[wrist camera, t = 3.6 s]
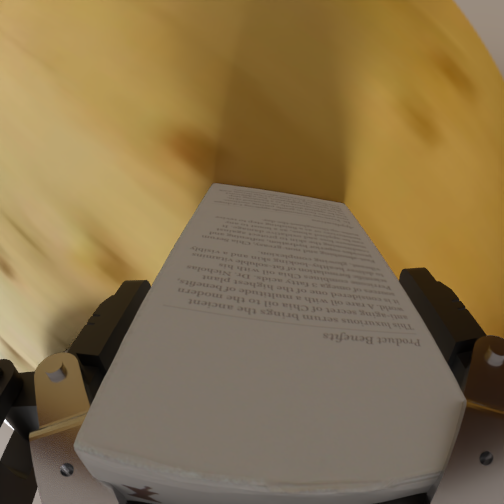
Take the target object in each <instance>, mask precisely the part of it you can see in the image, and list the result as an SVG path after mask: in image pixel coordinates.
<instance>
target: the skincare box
mask: <svg viewBox="0 0 504 504" xmlns="http://www.w3.org/2000/svg"><path fill="white" fill-rule="evenodd" d="M465 399H466V398H465V397H464V395H463V393H462V391H461V389H460V387H459V385H458V382H457V380H456V379H455V377H454V375H453V373H452V371H451V369H450V368H449V366H448V364H447V362H446V360H445V359H444V357H443V355H442V353H441V351H440V349H439V348H438V346H437V344H436V342H435V340H434V338H433V337H432V335H431V333H430V332H429V330H428V328H427V326H426V325H425V323H424V321H423V320H422V318H421V316H420V315H419V313H418V311H417V310H416V308H415V307H414V305H413V303H412V302H411V300H410V298H409V297H408V295H407V293H406V292H405V290H404V289H403V287H402V286H401V284H400V282H399V281H398V279H397V278H396V276H395V275H394V273H393V272H392V270H391V269H390V267H389V266H388V264H387V263H386V261H385V260H384V258H383V257H382V255H381V254H380V252H379V251H378V249H377V248H376V246H375V245H374V244H373V242H372V241H371V239H370V238H369V237H368V235H367V234H366V232H365V231H364V229H363V228H362V227H361V225H360V224H359V222H358V221H357V220H356V218H355V217H354V216H353V214H352V213H351V212H350V210H349V209H348V208H347V206H346V205H345V204H343V203H338V202H333V201H327V200H322V199H317V198H311V197H305V196H299V195H293V194H288V193H281V192H274V191H268V190H262V189H255V188H247V187H240V186H233V185H226V184H219V183H213V184H212V185H211V187H210V188H209V190H208V192H207V193H206V195H205V196H204V198H203V199H202V201H201V203H200V204H199V206H198V208H197V209H196V211H195V213H194V214H193V216H192V218H191V219H190V221H189V222H188V224H187V225H186V227H185V229H184V230H183V232H182V234H181V235H180V237H179V239H178V240H177V242H176V244H175V245H174V248H173V249H172V250H171V252H170V254H169V256H168V258H167V259H166V261H165V263H164V265H163V267H162V268H161V270H160V272H159V274H158V275H157V277H156V279H155V281H154V282H153V284H152V286H151V288H150V290H149V292H148V293H147V295H146V297H145V299H144V300H143V302H142V304H141V306H140V308H139V310H138V312H137V314H136V316H135V318H134V320H133V322H132V324H131V326H130V327H129V329H128V331H127V333H126V335H125V337H124V339H123V341H122V343H121V345H120V347H119V350H118V352H117V354H116V356H115V358H114V360H113V362H112V364H111V366H110V368H109V370H108V372H107V373H106V375H105V377H104V379H103V381H102V383H101V385H100V387H99V389H98V391H97V394H96V396H95V398H94V400H93V402H92V404H91V406H90V409H89V411H88V413H87V415H86V417H85V419H84V422H83V424H82V426H81V428H80V430H79V432H78V434H77V437H76V440H75V442H74V450H75V452H76V453H77V455H78V457H79V458H80V460H81V461H82V463H83V464H84V465H85V467H86V468H87V469H88V471H89V472H90V473H91V475H92V476H93V477H95V478H96V479H98V480H101V481H105V482H109V483H111V484H112V485H113V486H114V487H115V488H116V489H117V490H118V491H119V492H121V493H122V494H123V495H124V496H125V498H126V500H130V501H139V502H146V503H152V504H375V503H380V502H385V501H390V500H394V499H398V498H402V497H406V496H410V495H415V494H420V493H428V491H429V489H430V487H431V486H432V485H433V484H434V482H435V481H436V479H437V478H438V476H439V475H440V473H441V471H442V469H443V466H444V464H445V461H446V458H447V455H448V452H449V449H450V446H451V443H452V440H453V437H454V433H455V430H456V426H457V423H458V419H459V415H460V411H461V407H462V403H463V401H464V400H465Z"/></svg>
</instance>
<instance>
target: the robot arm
mask: <svg viewBox="0 0 504 504" xmlns="http://www.w3.org/2000/svg"><path fill="white" fill-rule="evenodd" d="M399 282H400V284H401V286H402V287H403V289H404V290H405V292H406V293H407V295H408V297H409V298H410V300H411V302H412V303H413V305H414V307H415V308H416V310H417V311H418V313H419V315H420V316H421V318H422V320H423V321H424V323H425V325H426V326H427V328H428V330H429V332H430V333H431V335H432V337H433V338H434V340H435V342H436V344H437V346H438V348H439V349H440V351H441V353H442V355H443V357H444V359H445V360H446V362H447V364H448V366H449V368H450V369H451V371H452V373H453V375H454V377H455V379H456V380H457V382H458V385H459V387H460V389H461V391H462V393H463V395H464V397H465V398H466V399H465V400H464V401H463V403H462V407H461V411H460V415H459V419H458V423H457V426H456V430H455V433H454V437H453V440H452V443H451V446H450V449H449V452H448V455H447V458H446V461H445V464H444V466H443V469H442V471H441V473H440V475H439V476H438V478H437V479H436V481H435V482H434V484H433V485H432V486H431V487H430V489H429V491H428V493H420V494H415V495H410V496H406V497H402V498H398V499H394V500H390V501H385V502H380V503H375V504H504V339H503V338H500V337H497V336H491V335H489V336H487V335H486V334H485V333H484V331H483V330H482V328H481V327H480V326H479V324H478V323H477V322H476V320H475V319H474V318H473V316H472V315H471V314H470V312H469V311H468V310H467V309H465V306H464V305H463V303H462V302H461V301H459V298H458V297H457V296H456V294H455V293H454V292H453V291H452V289H450V288H449V287H447V286H446V285H444V284H443V283H441V282H440V281H438V282H437V281H436V280H435V279H434V277H433V276H432V275H431V274H430V272H429V271H428V270H427V269H426V268H424V267H423V268H410V269H403V270H402V272H401V274H400V279H399ZM150 288H151V285H150V283H149V282H148V281H147V280H130V281H124V282H123V284H122V285H121V286H120V288H119V289H118V291H117V292H116V293H115V295H112V296H110V297H109V298H108V299H106V300H105V301H104V302H102V303H101V304H100V305H99V307H98V308H97V309H96V311H95V312H94V314H93V316H91V318H90V319H89V321H88V322H87V325H85V326H84V328H83V329H82V331H81V332H80V334H79V335H78V337H77V338H76V340H75V341H74V343H73V344H72V346H71V347H70V349H69V350H68V352H67V353H56V354H53V355H51V356H49V357H47V358H46V359H44V360H43V361H42V362H41V363H40V364H39V365H38V367H37V368H36V371H34V372H24V373H18V371H17V369H16V368H15V366H14V365H13V363H12V362H11V361H10V360H7V359H1V360H0V427H1V425H2V423H3V422H4V420H5V419H6V420H7V421H8V422H9V424H10V425H11V426H12V427H13V428H14V429H15V430H14V432H13V434H12V436H11V438H10V440H9V442H8V444H7V447H6V449H5V451H4V453H3V456H2V458H1V460H0V504H32V502H33V499H34V496H35V493H36V490H37V487H38V490H39V495H40V498H41V502H42V504H152V503H146V502H139V501H130V500H126V498H125V496H124V495H123V494H122V493H121V492H119V491H118V490H117V489H116V488H115V487H114V486H113V485H112V484H111V483H109V482H105V481H101V480H98V479H96V478H95V477H93V476H92V475H91V473H90V472H89V471H88V469H87V468H86V467H85V465H84V464H83V463H82V461H81V460H80V458H79V457H78V455H77V453H76V452H75V450H74V442H75V440H76V437H77V434H78V432H79V430H80V428H81V426H82V424H83V422H84V419H85V417H86V415H87V413H88V411H89V409H90V406H91V404H92V402H93V400H94V398H95V396H96V394H97V391H98V389H99V387H100V385H101V383H102V381H103V379H104V377H105V375H106V373H107V372H108V370H109V368H110V366H111V364H112V362H113V360H114V358H115V356H116V354H117V352H118V350H119V347H120V345H121V343H122V341H123V339H124V337H125V335H126V333H127V331H128V329H129V327H130V326H131V324H132V322H133V320H134V318H135V316H136V314H137V312H138V310H139V308H140V306H141V304H142V302H143V300H144V299H145V297H146V295H147V293H148V292H149V290H150Z"/></svg>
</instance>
